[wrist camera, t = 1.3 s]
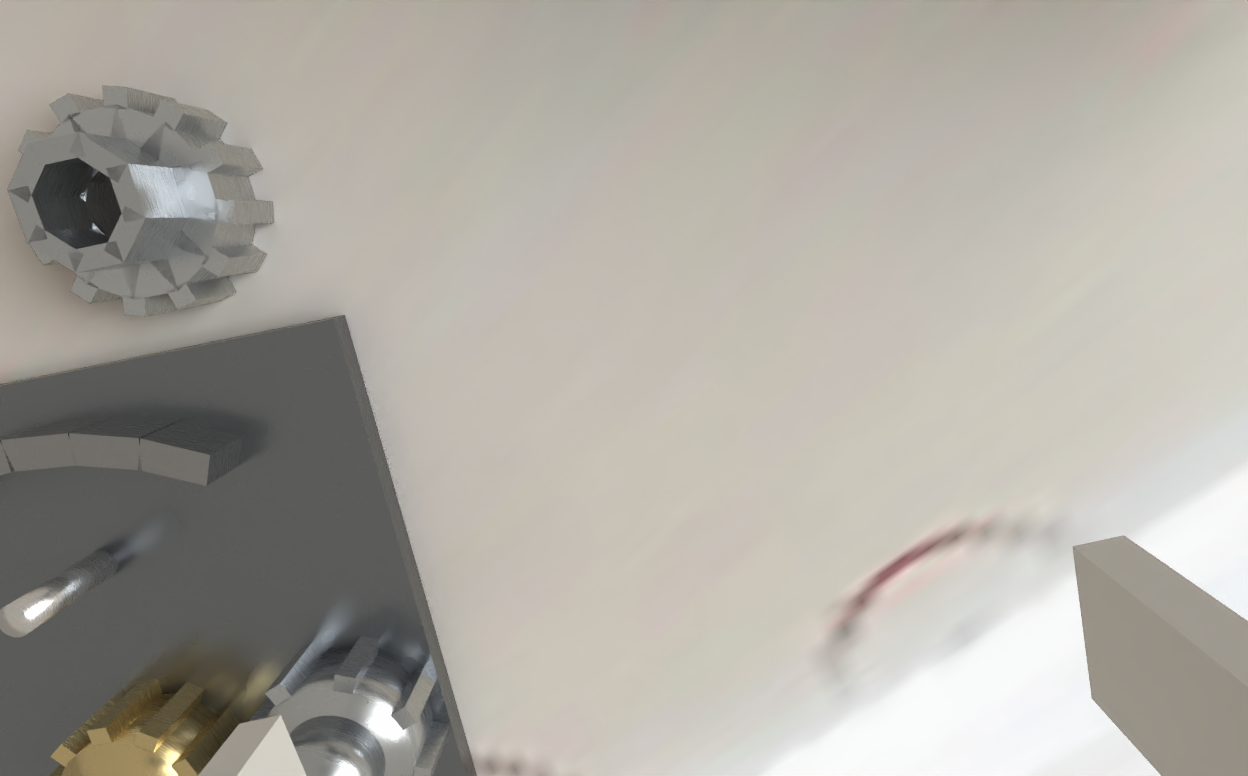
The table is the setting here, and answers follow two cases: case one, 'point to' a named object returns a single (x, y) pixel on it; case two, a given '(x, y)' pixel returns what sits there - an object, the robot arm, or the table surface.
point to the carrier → (212, 568)
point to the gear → (139, 201)
